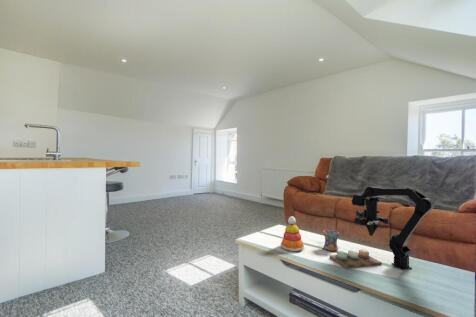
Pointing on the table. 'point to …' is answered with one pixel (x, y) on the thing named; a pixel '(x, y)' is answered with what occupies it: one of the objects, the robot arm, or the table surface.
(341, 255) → the sage button
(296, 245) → the stacking toy
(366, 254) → the terracotta button
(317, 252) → the table surface
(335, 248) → the mug
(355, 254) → the cream button
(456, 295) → the table surface
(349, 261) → the button board
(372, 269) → the table surface
